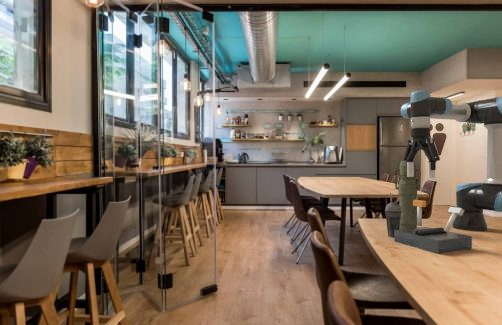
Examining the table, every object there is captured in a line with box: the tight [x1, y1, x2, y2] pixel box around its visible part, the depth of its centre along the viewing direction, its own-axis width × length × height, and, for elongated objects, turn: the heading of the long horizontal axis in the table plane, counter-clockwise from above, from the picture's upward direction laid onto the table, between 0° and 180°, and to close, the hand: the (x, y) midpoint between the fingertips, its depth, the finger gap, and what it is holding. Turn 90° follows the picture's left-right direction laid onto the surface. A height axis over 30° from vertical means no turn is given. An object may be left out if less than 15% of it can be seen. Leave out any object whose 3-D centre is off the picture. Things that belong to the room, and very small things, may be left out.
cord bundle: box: [414, 227, 445, 235], centre depth 145 cm, size 15×3×2 cm, turn 112°
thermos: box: [394, 159, 422, 229], centre depth 180 cm, size 9×12×35 cm
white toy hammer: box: [444, 206, 464, 233], centre depth 141 cm, size 2×5×11 cm
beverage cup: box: [384, 192, 402, 238], centre depth 162 cm, size 7×7×20 cm
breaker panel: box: [393, 226, 473, 255], centre depth 145 cm, size 18×22×5 cm
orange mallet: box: [413, 199, 427, 227], centre depth 151 cm, size 2×5×11 cm, turn 22°
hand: (420, 177), depth 151 cm, fingers open, 13 cm apart
